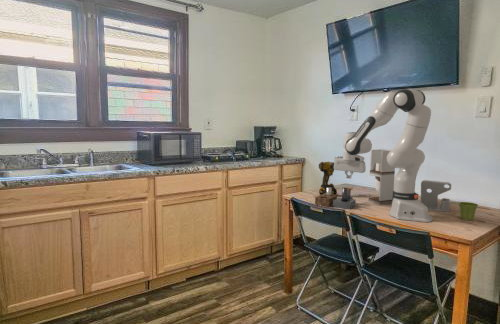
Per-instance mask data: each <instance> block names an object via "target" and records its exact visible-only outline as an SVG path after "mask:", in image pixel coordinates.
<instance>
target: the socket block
mask: <svg viewBox="0 0 500 324" xmlns="http://www.w3.org/2000/svg"><path fill="white" fill-rule="evenodd" d="M356 201H357V200H356V199H354V197H353V195H351V196H350V197H347V201H342V197H337V199H335V200H333V205H332V208H338V209H346V210H351V209H353V208H354V207H356V204H357V203H356Z"/></svg>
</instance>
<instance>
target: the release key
mask: <svg viewBox="0 0 500 324" xmlns="http://www.w3.org/2000/svg"><path fill="white" fill-rule="evenodd" d="M346 188H347V197H350V196H352V195H351V194H352V193H351V192H352V191H353V189H354V187H350V186H346Z"/></svg>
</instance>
